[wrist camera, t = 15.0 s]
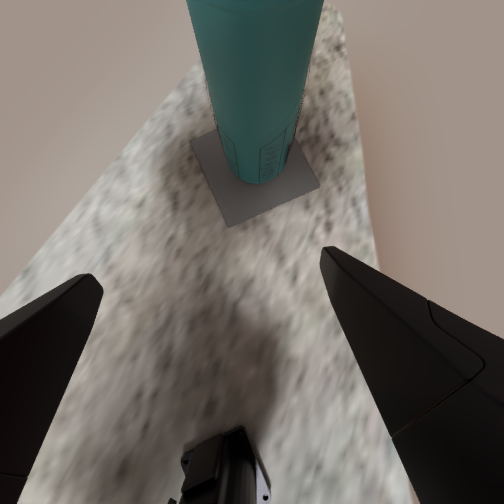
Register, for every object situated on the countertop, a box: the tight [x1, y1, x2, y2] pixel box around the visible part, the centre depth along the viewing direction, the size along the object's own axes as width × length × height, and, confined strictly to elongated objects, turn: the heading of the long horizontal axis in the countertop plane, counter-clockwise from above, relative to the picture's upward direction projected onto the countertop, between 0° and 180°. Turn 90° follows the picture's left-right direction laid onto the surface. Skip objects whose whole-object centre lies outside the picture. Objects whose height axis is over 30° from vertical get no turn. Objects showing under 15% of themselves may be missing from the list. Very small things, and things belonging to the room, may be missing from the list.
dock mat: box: [190, 129, 320, 228], centre depth 23 cm, size 11×11×1 cm
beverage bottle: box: [186, 0, 324, 184], centre depth 13 cm, size 6×7×20 cm
